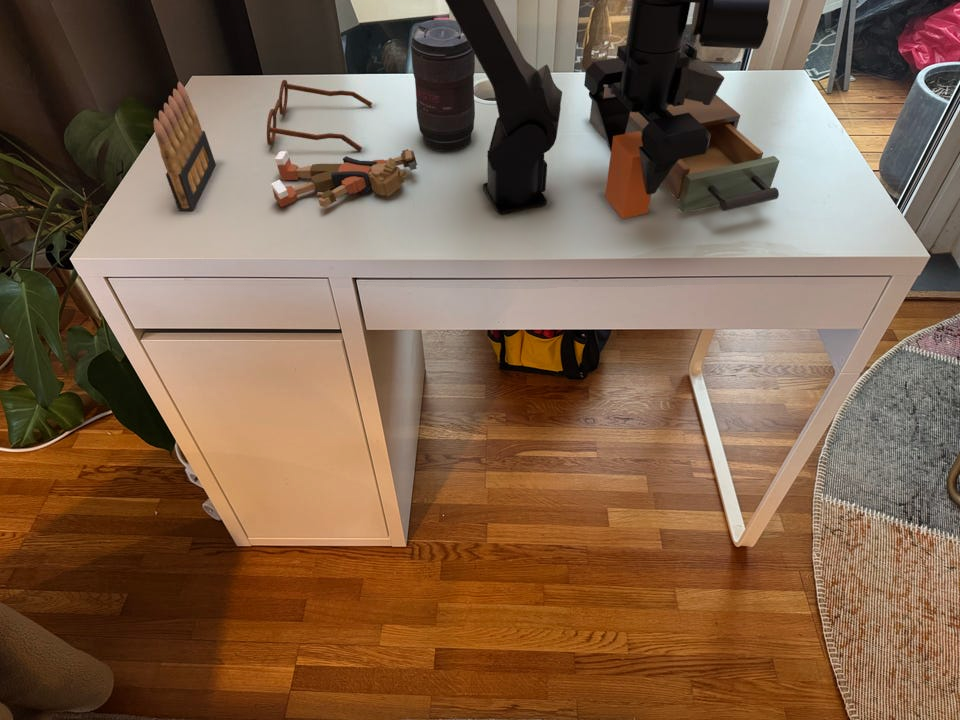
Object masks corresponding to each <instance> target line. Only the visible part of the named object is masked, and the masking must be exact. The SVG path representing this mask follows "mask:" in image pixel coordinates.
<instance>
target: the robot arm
mask: <svg viewBox="0 0 960 720" xmlns="http://www.w3.org/2000/svg"><path fill="white" fill-rule="evenodd" d="M444 1H445V3H446V5H447V7H448V9H449V10H450V12H451V14H452V15H453V17H454V20H455V21H457V23H458V25H459V26H460V28H461V30H462V32H463V34H464V36H465V37H466V39H467V41H468V43H469V45H470V46H471V48H472V50H473V52H474V54H475V58H476V59H477V61H478V62H479V64H480V66H481V68H482V70H483V73H485V76H486V77H487V79H488V81H489V83H490V84H491V86H492V89H493V93H494V99H495V103H496V109H497V112H498V117H497V118H496V121H495V125H494V129H493V132H492V136H491V140H490V144H489V148H488V150H487V155H486V157H487V182H484V183H483V184H482V190H483V191H484V192H485V194H486V196H487V197H488V199H489V200H490V202H491V204H492V206H493V207H494V209H495V211H496V212H497V213H498V214H500V215H504V214H509V213H514V212H518V211H523V210H527V209H533V208H537V207H542V206H546V205H547V204H548V198H546V196H545V194H544V193H545V192H546V190H547V189H546V188H547V178H548V177H547V174H548V163H547V162H546V160H545V153H547V152H549V151H550V150H551V149H552V148H553V147H554V145H555V143H556V141H557V136H558V131H559V130H558V129H559V123H560V115H561V109H562V107H561V105H562V97H563V91H562V90H561V89H560V88H559V87H558V86H557V84H556V83H555V82H554V79H553V76H552V72H551V69H550V67H549V65H548V64H545V65H543V66H542V67H540V68H539V69H537V68H535V67H533V66H532V65H531V64H530V63H528V61H527V60H526V59H525V57H524V55H523V53H522V51H521V50H520V47H519V46H518V43H517V42H516V40H515V38H514V36H513V34H512V32H511V30H510V28H509V25H508V24H507V21H506V20H505V18H504V15H503V14H502V12H501V10H500V8H499V6H498V4H497V2H496V0H444ZM692 3H694V7H693V12H692V18H691V19H692V20H691V27H690V28H691V29H690V32H691V35H692V36H698V43H699V45H700V47H703V48H704V47H707V48H726V49H744V50H745V49H746V50H759V49H760V47H762V44H763V42H764V39H765V37H766V34H767V30H768V27H769V19H768V15H769V12H770V5H771V4H770V3H771V0H631V7H630V15H629V21H628V28H627V29H628V30H627V36H626V43H625V44H623V45H618V46H617V51H616V56H617V57H614V58H608V59H602V60H596V61H593V62H592V63H591V64H590V65H589V66H588V67H587V68H586V69H585V73H584V81H583V82H584V84H583V85H584V87H585V88H586V89H587V90H588V97H589V98H590V101H591V103H592V102H593V105H594V108H595V110H596V113H597V116H598V118H599V121H600V124H601V127H602V129H603V132H604V135H605V138H606V140H605V141H606V144H607V147H608V149H609V152H610V153H611V149H612V142H613V136H617V135H622V134H625V132H626V128H627V124H628V119H629V115H630V111H631V112H633V113H637V112H639V113H640V114H641V115H642V116H643V117H644V118H645V119H646V120H647V121H648V122H649V123H648V124H647V125H646V127H645V128H644V129H643V131H642V137H641V140H642V144H643V146H640V147H639V153H640V160H641V167H642V174H643V181H644V187H645V192H646V194H647V195H650V194H651V195H653V194H656V193H657V191H658V190H659V188H660V187H661V185H663V184H662V182H663V181H664V179H665V178H666V176H667V175H668V173H669V172H670V170H671V169H672V167H673V166H674V165H675V164H676V163H677V161H678V160H679V159H683V158H688V157H692V156H697V155H702V154H706V152H707V149H708V145H709V141H710V137H711V134H710V132H709V131H708V130H707V129H706V128H705V127H704V126H703V125H702V124H701V123H700V122H699V121H697V120H696V119H695V118H694V117H693V116H692V115H691V114H690V113H684V114H679V115H674V116H673V115H672V114H671V113H670V112H669V111H668V110H667V107H668V105H673V106H674V107H675V106H680V105H684V100H685V98H686V99H690V100H694V101H699V102H703V104H704V105H710V104H711V102H712V100H713V99H714V97H715V95H717V94H718V91H719V90H720V87H721V86H722V84H723V83H724V80H725V76H724V75H723V74H721V73H720V72H718V70H716V69H715V68H714V67H713V66H711V65H710V64H709V63H707V62H705V61H703V60H702V59H701V58H700V57H698V50H697V48H696V47H694V46H693V45H692V44H690V43H689V42H686V41H684V38H685V34H686V30H687V29H686V28H687V24H688V19H689V13H690V9H691V4H692Z"/></svg>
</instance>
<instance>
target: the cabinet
mask: <svg viewBox="0 0 960 720" xmlns="http://www.w3.org/2000/svg"><path fill="white" fill-rule="evenodd" d="M667 110H668V111H669V112H670V113H671V114H672V115H673V116H674V115H679V114H684V113H690V114H691V115H692V116H693V117H694V118H695V119H696V120H697V121H699V122H700V123H701V124H702V125H703V126H704V127H707V126H712V125H717V124H722V123H727V122H729V123H730V124H731V125H732V126H733V127H734V128H735V129H737V128H738V125H739V122H740V119H741V114H740V113H739V112H738V111H737V110H735V109H734V108H733V107H731V106H730V105H729V104H728V103H727V102H726V101H724V100H723V99H722V98H721V97H720V96H719V95H717V94H716V95H715V97H714V99H713V100H712V102H711V104H710V105H704V104H703V102H699V101H694V100H690V99H686V98H685V100H684V105H680V106H675V107H674V106H673V105H668V107H667ZM589 113H590V114H589V123H590V124H591V126H592V127H593V128H594V129H595V130H596V131H597V133H599V135H600V136H601V137H602V138H603V139H604V141H606V138H605V135H604V132H603V129H602V127H601V124H600V121H599V118H598V116H597V113H596V110H595V108H594V105H593V102H592V101H591V105H590V112H589ZM648 123H649V122H648V121H647V120H646V119H645V118H644V117H643V116H642V115H641V114H640V113H639V112H637V113H633V112H631V111H630V115H629V119H628V124H627V128H626V132H625V134H627V133H632V132H637V131H640V132H641V133H642V131H643V129H644V128H645V127H646V125H647V124H648ZM737 130H738V129H737Z"/></svg>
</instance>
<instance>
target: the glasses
mask: <svg viewBox="0 0 960 720" xmlns="http://www.w3.org/2000/svg"><path fill="white" fill-rule="evenodd" d="M289 90H292V91H299V92H304V93H308V94H309V93H310V94H315V95H320V96H321V95H322V96H327V97H336V96H348V97H352V98H353V99H356V100H357V101H360V102H361V103H363V104H364V105H366V106H368V107H370V108H371V106H372V105H373V102H372V101H370V100H369V99H367V98H366V97H363V96H362V95H361V94H359V93H356V92H355V91H349V90H342V89H341V90H332V91H331V90H326V89H320V88H313V87H310V86H309V87H308V86H302V85H297V84H292V83H288V81H287V79H282V80H281V83H280V88H279V94H278V99H277V100H276V102H275V105H274V108H271V109H270V110H269V112H268V116H267V121H266V142H267V145H268V146H273V145H274V142H275V139H276V135H283V136H288V137H295V138H301V139H306V140H307V139H308V140H312V141H320V140H326V139H336V140H337V139H338V140H339V139H340V140H341V141H343V142H345V143H346V144H347V145H349V146H350V147H352V148H353V149H355V150H356V151H358V152H361V151H362V150H363V146H361V145H360V144H358V143H357V142H355V141H354V140H352V139H350V137H348V136H346V135H345V134H343V133H342V134H341V133H334V132H333V133H332V132H328V133H319V134H314V133H308V132H302V131H295V130H290V129H284V128H279V127H278V128H277V115H278V111H279V115H281V116H285V114H286V111H287V105H288V97H289ZM283 93H284V94H283ZM283 96H284V98H283ZM271 124H272V125H271ZM271 126H272V127H271Z"/></svg>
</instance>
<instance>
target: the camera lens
mask: <svg viewBox="0 0 960 720" xmlns="http://www.w3.org/2000/svg"><path fill="white" fill-rule="evenodd" d="M410 52H411V64H412V65H411V66H412V71H413V78H414V84H415V85H414V86H415V98H416V99H415V101H416V102H415V107H416V118H417V123H418V130H419V133H420V134H421V135H422V138H423V143H424V145H425V146H426V147H428V148H430V149H431V150H434V151H438V152H454V151H458V150H461V149H464V148H465V147H467V146H468V145H469V144H470V143H471V141H472V132H473V131H474V130H475V129H474V128H475V117H476V107H475V105H476V103H475V102H476V101H475V80H474V79H475V77H474V75H475V69H476V60H475V59H476V55H475V54H474V52H473V50H472V48H471V46H470V45H469V43H468V41H467V39H466V37H465V36H464V34H463V32H462V30H461V28H460V26H459V25H458V23H457V21H456V19H445V18H440V19H439V18H438V19H432V20H430V19H429V20H426V21H423V22H421V23H419V24H418V25H416V26H415V27H414V28H413V29H412V32H411V42H410Z"/></svg>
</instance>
